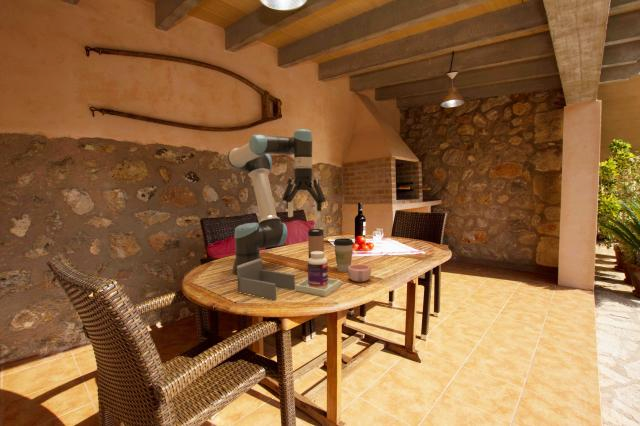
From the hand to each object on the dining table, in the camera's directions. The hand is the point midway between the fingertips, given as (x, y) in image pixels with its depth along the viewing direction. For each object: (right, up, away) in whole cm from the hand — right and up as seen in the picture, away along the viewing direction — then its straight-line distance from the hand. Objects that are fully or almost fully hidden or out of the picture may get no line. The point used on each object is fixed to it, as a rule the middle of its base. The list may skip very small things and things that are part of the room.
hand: (303, 217), depth 129 cm
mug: (+24, -28, +5) cm, 37 cm away
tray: (+7, -29, -6) cm, 30 cm away
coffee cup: (+19, -26, +19) cm, 38 cm away
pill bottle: (+6, -28, -6) cm, 30 cm away
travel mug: (+5, -26, +20) cm, 34 cm away
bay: (-14, -29, -8) cm, 33 cm away
